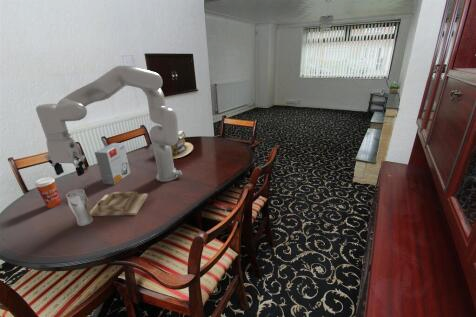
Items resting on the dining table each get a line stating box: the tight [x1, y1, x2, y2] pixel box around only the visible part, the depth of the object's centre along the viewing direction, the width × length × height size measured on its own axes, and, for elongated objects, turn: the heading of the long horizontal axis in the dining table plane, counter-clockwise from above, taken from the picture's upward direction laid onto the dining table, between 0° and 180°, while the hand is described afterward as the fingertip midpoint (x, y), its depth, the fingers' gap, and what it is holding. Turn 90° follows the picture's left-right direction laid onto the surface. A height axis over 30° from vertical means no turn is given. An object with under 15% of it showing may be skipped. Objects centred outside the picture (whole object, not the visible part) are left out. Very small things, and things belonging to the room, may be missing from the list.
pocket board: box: [90, 191, 148, 217], centre depth 116 cm, size 22×16×4 cm
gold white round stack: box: [171, 130, 194, 160], centre depth 173 cm, size 25×25×17 cm
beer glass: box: [65, 188, 94, 227], centre depth 102 cm, size 7×7×15 cm
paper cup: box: [34, 176, 62, 209], centre depth 115 cm, size 8×8×14 cm
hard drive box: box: [94, 142, 131, 186], centre depth 138 cm, size 16×8×20 cm, turn 168°
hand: (70, 174), depth 100 cm, fingers open, 9 cm apart
